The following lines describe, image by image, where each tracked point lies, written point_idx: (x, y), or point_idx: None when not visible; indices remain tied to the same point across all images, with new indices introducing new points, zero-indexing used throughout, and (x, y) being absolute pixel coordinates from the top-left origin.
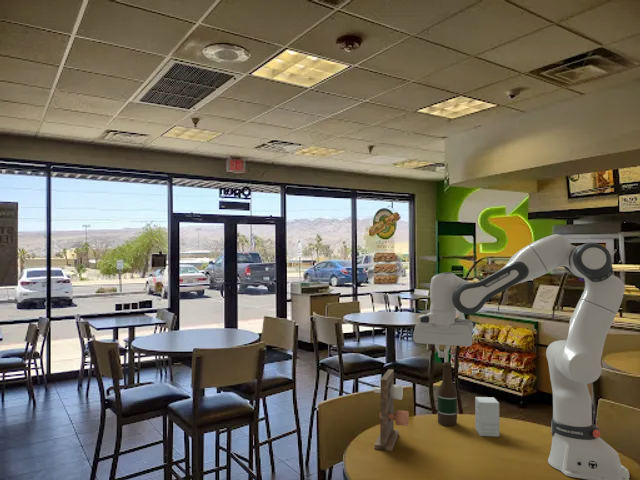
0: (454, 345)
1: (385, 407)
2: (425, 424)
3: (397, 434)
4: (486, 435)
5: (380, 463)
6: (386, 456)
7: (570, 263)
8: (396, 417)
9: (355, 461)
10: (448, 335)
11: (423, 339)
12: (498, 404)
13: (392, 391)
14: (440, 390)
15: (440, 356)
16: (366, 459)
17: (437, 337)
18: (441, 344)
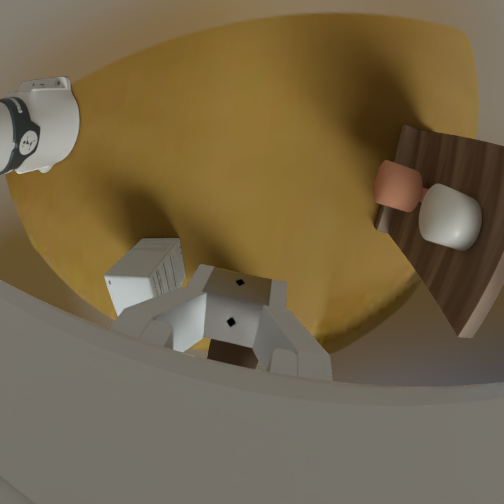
0: (45, 304)
1: (471, 139)
2: (297, 295)
3: (383, 209)
4: (166, 238)
5: (424, 63)
6: (414, 96)
7: None
8: (417, 172)
9: (466, 79)
10: (18, 458)
11: (501, 420)
12: (106, 273)
13: (469, 198)
14: (252, 356)
15: (262, 279)
16: (450, 85)
17: (298, 495)
18: (226, 363)
